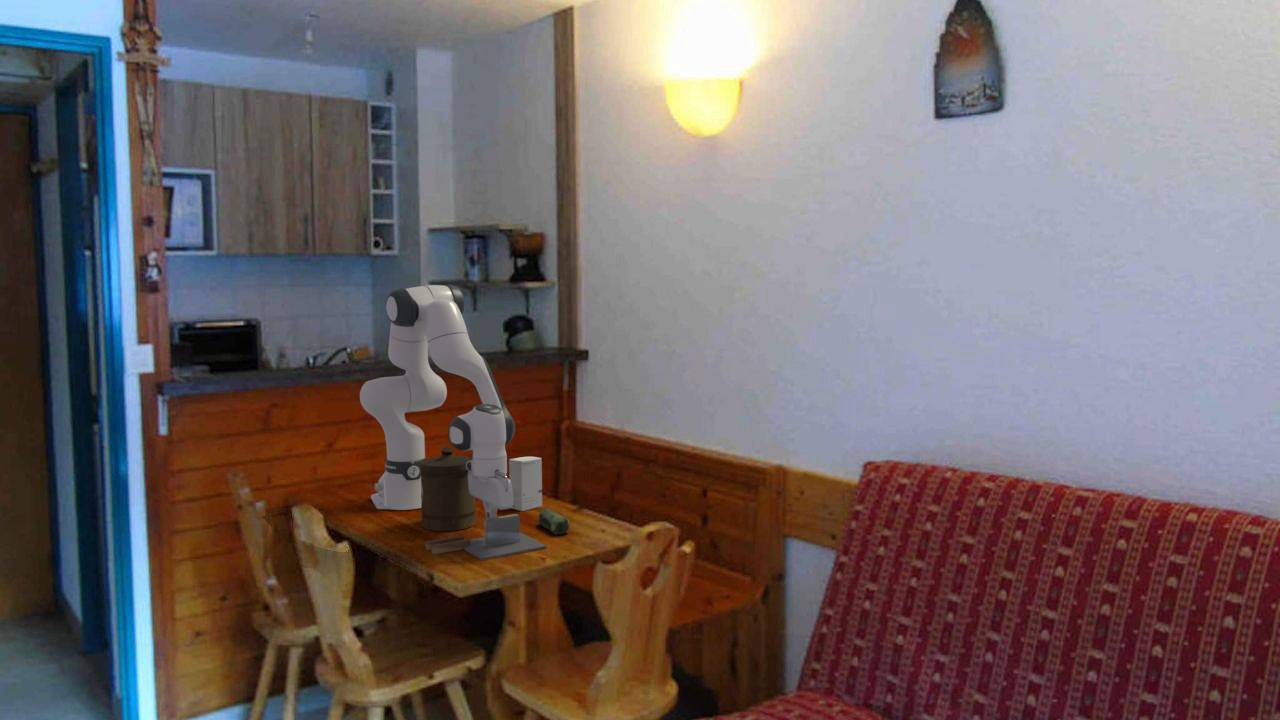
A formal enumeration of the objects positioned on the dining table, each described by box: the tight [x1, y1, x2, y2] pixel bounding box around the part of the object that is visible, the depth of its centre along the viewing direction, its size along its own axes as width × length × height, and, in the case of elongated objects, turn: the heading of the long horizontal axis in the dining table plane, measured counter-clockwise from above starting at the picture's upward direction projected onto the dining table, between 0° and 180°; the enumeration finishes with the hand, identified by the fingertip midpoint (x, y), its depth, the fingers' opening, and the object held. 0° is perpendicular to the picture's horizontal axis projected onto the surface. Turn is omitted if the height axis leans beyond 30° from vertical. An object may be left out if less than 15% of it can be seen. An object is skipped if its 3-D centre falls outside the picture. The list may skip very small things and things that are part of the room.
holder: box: [424, 534, 471, 555], centre depth 256 cm, size 6×10×2 cm, turn 123°
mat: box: [462, 531, 547, 561], centre depth 258 cm, size 16×18×1 cm
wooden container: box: [420, 445, 477, 532], centre depth 278 cm, size 15×15×22 cm
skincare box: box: [508, 455, 543, 512], centre depth 296 cm, size 8×6×15 cm
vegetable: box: [537, 508, 570, 536], centre depth 273 cm, size 14×5×5 cm, turn 29°
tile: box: [483, 513, 521, 548], centre depth 258 cm, size 2×9×7 cm, turn 123°
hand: (491, 518), depth 262 cm, fingers closed
